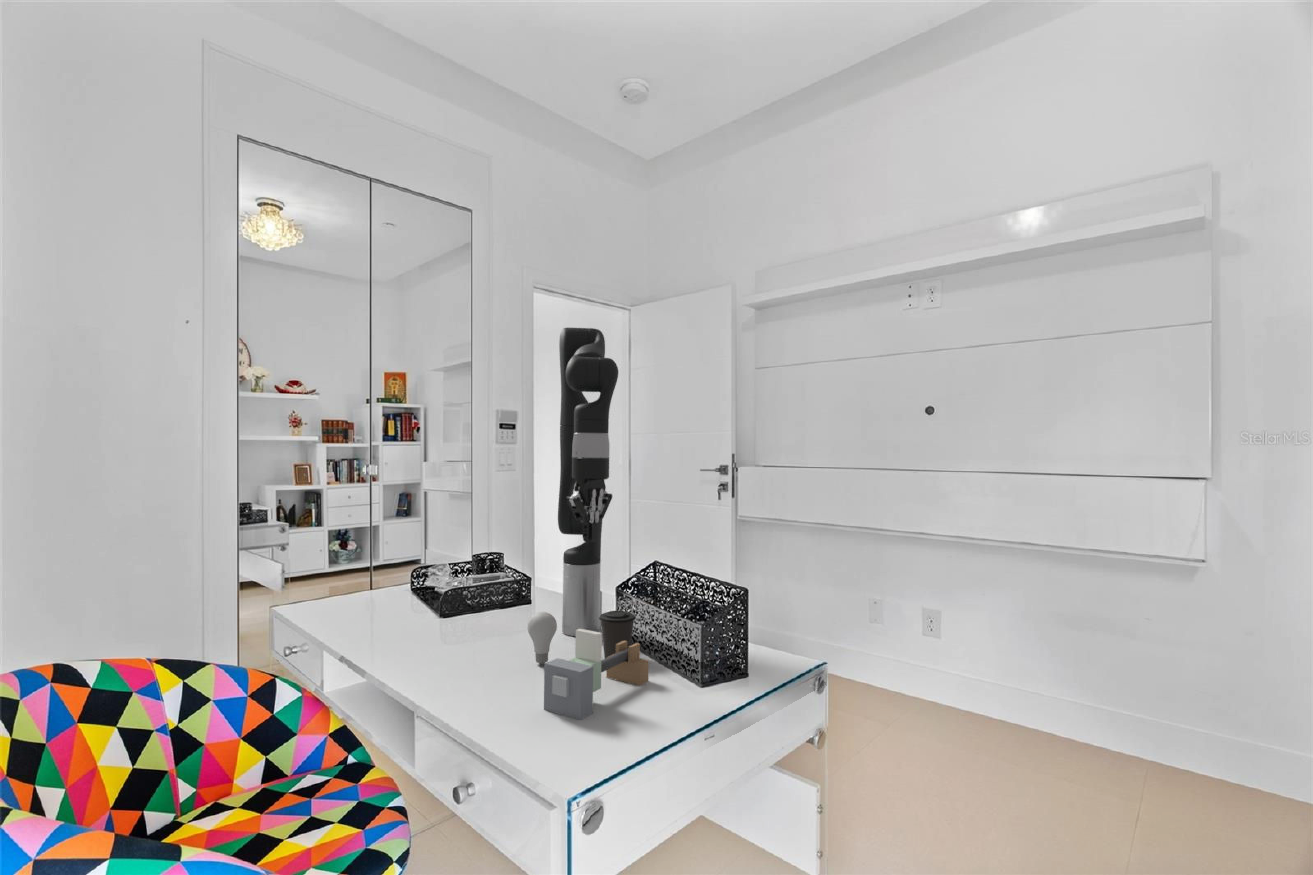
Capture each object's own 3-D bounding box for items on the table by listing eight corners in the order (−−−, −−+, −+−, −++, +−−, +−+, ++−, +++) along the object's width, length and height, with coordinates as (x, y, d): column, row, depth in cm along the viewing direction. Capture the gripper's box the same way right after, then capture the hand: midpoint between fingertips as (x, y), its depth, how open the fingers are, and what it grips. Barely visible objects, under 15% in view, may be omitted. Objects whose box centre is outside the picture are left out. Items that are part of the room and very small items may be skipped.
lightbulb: (528, 670, 136) (529, 616, 136) (525, 660, 142) (526, 609, 142) (557, 668, 138) (558, 614, 138) (554, 658, 143) (555, 607, 144)
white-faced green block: (578, 683, 122) (579, 628, 122) (600, 688, 120) (601, 632, 120) (565, 689, 119) (566, 633, 119) (587, 695, 116) (588, 638, 116)
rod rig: (614, 673, 135) (615, 633, 135) (648, 680, 131) (648, 640, 131) (540, 710, 115) (541, 664, 115) (577, 721, 111) (578, 673, 111)
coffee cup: (630, 665, 140) (631, 618, 140) (593, 662, 141) (594, 615, 141) (639, 654, 147) (639, 609, 148) (604, 651, 149) (604, 606, 149)
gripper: (595, 455, 142) (593, 536, 141) (555, 455, 130) (553, 543, 130) (624, 455, 138) (623, 539, 138) (585, 456, 126) (584, 547, 126)
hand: (589, 541), depth 134 cm, fingers closed
